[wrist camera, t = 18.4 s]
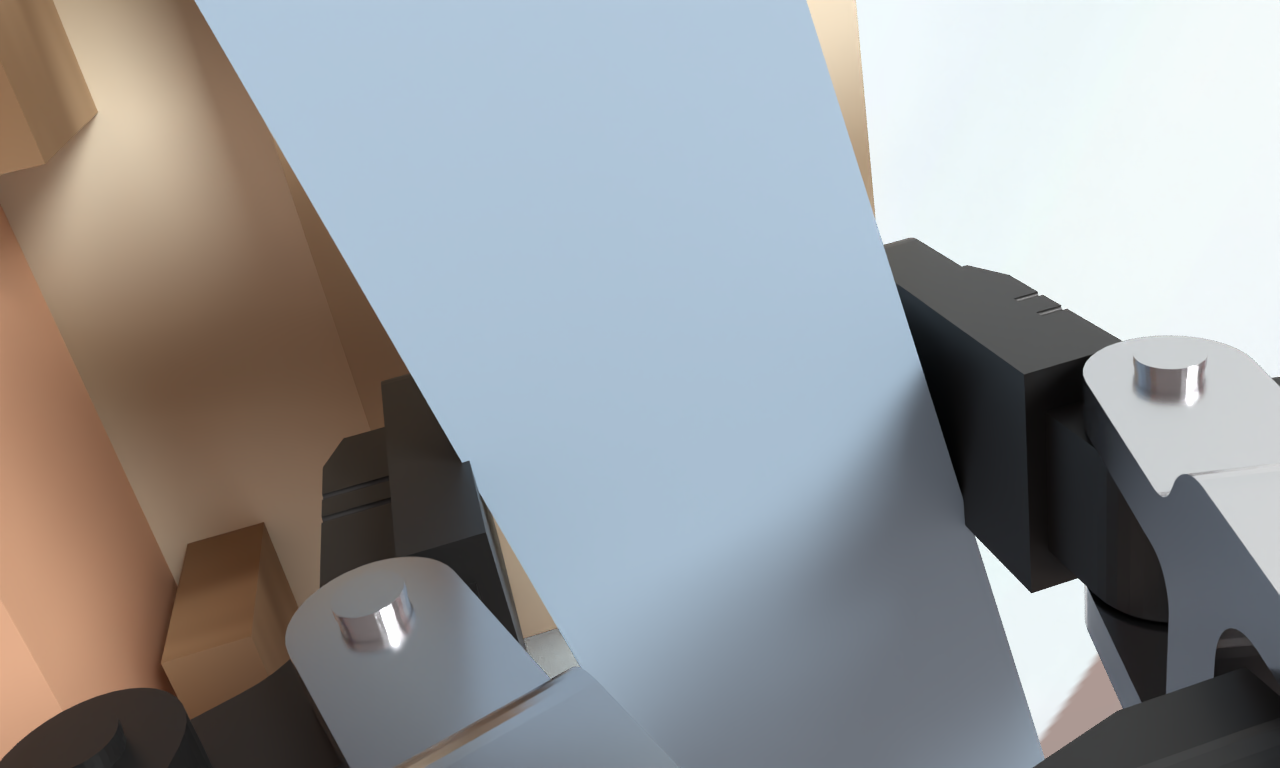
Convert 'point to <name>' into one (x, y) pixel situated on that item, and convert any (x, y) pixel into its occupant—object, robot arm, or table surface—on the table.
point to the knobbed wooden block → (65, 530)
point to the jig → (214, 306)
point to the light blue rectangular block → (660, 356)
